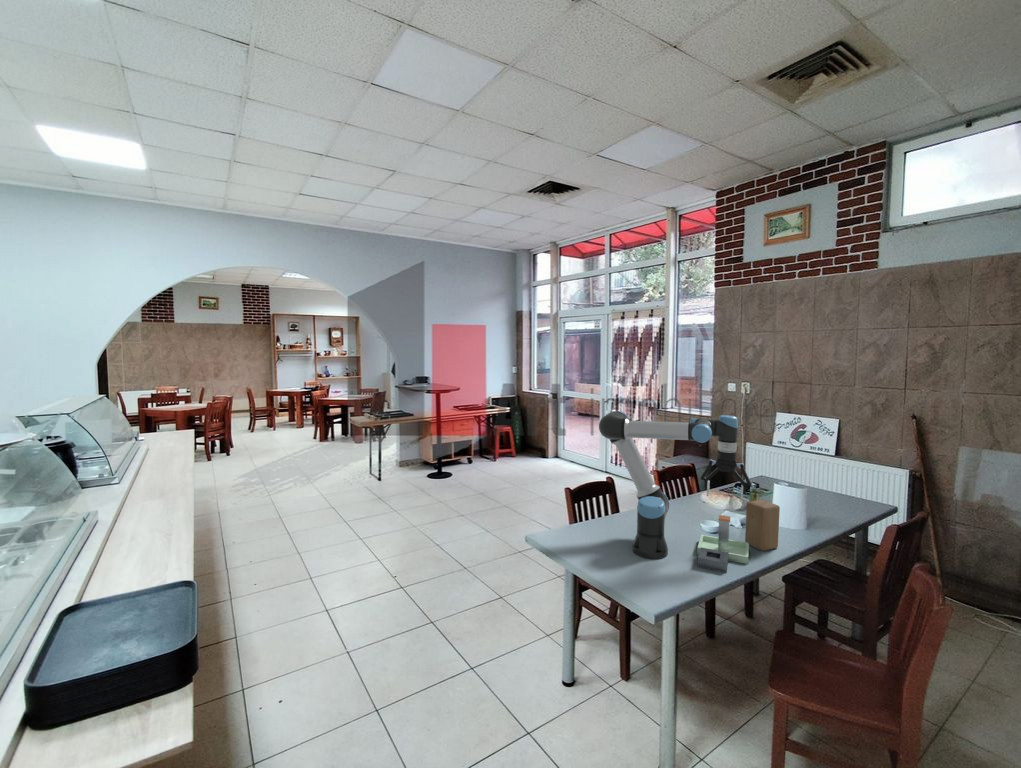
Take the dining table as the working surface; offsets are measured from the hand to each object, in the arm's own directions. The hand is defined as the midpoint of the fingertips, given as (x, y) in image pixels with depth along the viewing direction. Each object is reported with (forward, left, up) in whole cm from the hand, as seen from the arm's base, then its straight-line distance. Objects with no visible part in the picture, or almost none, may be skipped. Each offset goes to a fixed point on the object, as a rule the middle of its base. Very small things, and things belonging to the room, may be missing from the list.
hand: (724, 498), depth 207 cm
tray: (0, 0, -25) cm, 25 cm away
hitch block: (-3, -15, -25) cm, 29 cm away
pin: (0, 0, -24) cm, 24 cm away
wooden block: (+15, +15, -25) cm, 33 cm away
